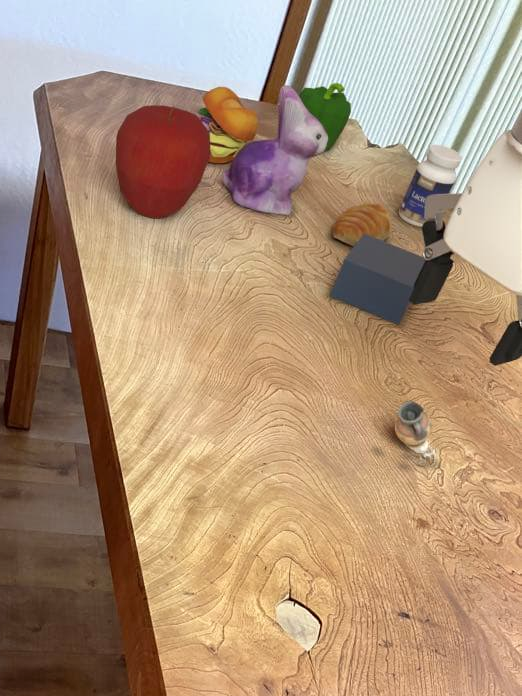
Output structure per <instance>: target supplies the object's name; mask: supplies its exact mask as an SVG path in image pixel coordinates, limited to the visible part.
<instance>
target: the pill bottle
mask: <svg viewBox="0 0 522 696" xmlns="http://www.w3.org/2000/svg"><path fill="white" fill-rule="evenodd" d="M425 155H426V156H425V157H426V160H423V161H421V162H420V163H419V164H418V165H417V167H416V169H415V172H414V173H413V176H412V178H411V181H410V183H409V184H408V187H407V189H406V192H405V195H404V196H403V199H402V201H401V203H400V206H399V208H398V215H399V217H400V218H401V219H402V220H403V222H404V221H405V222H406V223H408V224H410V225H412V226H415V227H418V228H422V226H423V224H424V223H425V219H424V211H425V199H426V197H427V196H429V195H436V194H451V192H452V190H453V188H454V186H455V184H456V181H457V179H458V178H457V177H458V175H457V172H456V169H457V168H459V166H460V164H461V162H462V160H463V157H462V155H461V154H460V153H459V152H457V151H456V150H455V149H453V148H450V147H447V146H444V145H440V144H433V145H431V146H429V148H428V150H427V152H426V154H425Z"/></svg>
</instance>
